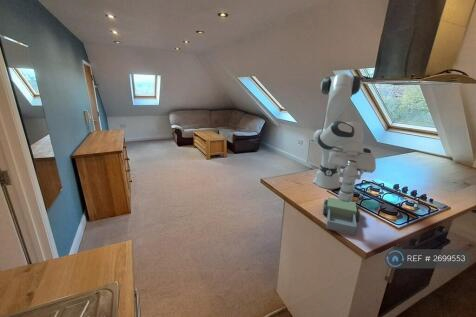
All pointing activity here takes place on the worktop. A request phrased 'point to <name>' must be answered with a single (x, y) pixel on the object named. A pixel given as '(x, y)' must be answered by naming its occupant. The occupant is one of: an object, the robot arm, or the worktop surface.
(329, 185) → the robot arm
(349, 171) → the silver metal bottle
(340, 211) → the toy pickup truck
